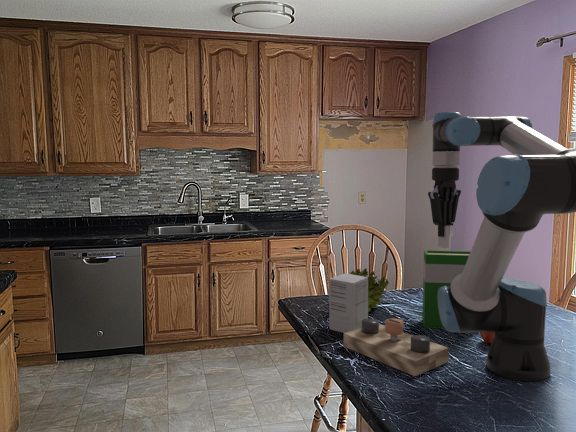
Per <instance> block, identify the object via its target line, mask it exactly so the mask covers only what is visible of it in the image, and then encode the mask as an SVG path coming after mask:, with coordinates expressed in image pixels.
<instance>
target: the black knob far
mask: <svg viewBox="0 0 576 432" xmlns="http://www.w3.org/2000/svg"><path fill="white" fill-rule="evenodd" d="M379 324H380V321H379V320H378V319H376V318H368V319H363V320H362V332H363V333H366V334H377V333H378V332H379Z"/></svg>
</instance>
